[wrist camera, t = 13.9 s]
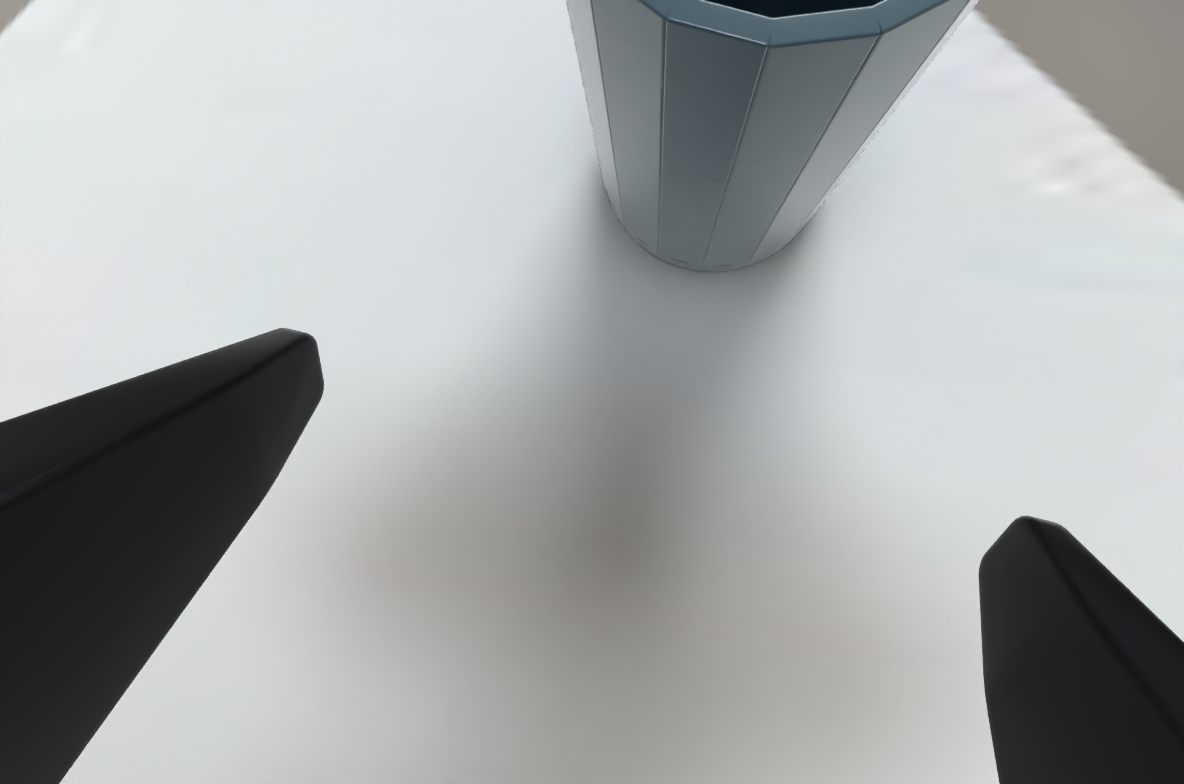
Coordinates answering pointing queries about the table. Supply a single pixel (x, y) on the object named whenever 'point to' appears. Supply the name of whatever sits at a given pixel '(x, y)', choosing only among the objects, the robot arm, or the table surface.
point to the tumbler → (742, 110)
